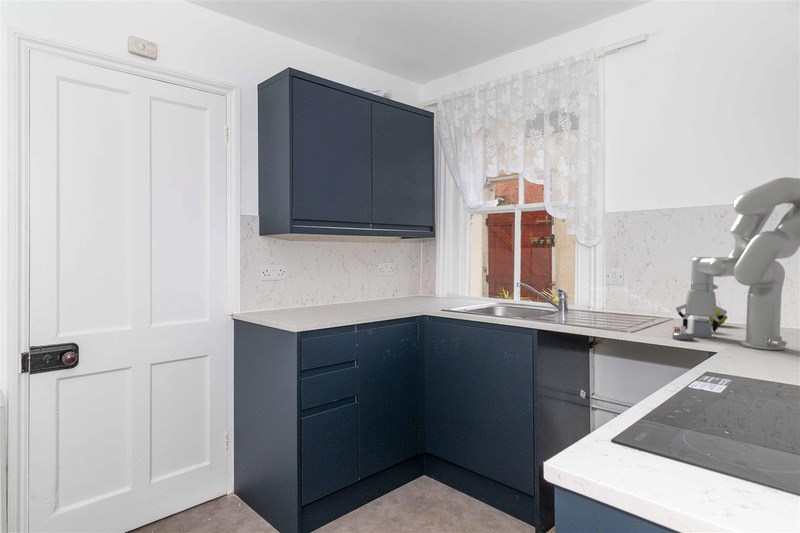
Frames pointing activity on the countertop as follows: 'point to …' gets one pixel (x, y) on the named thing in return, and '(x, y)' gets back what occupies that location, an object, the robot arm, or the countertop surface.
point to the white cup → (698, 317)
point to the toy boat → (681, 334)
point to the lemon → (717, 316)
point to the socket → (701, 328)
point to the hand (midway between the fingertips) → (699, 329)
